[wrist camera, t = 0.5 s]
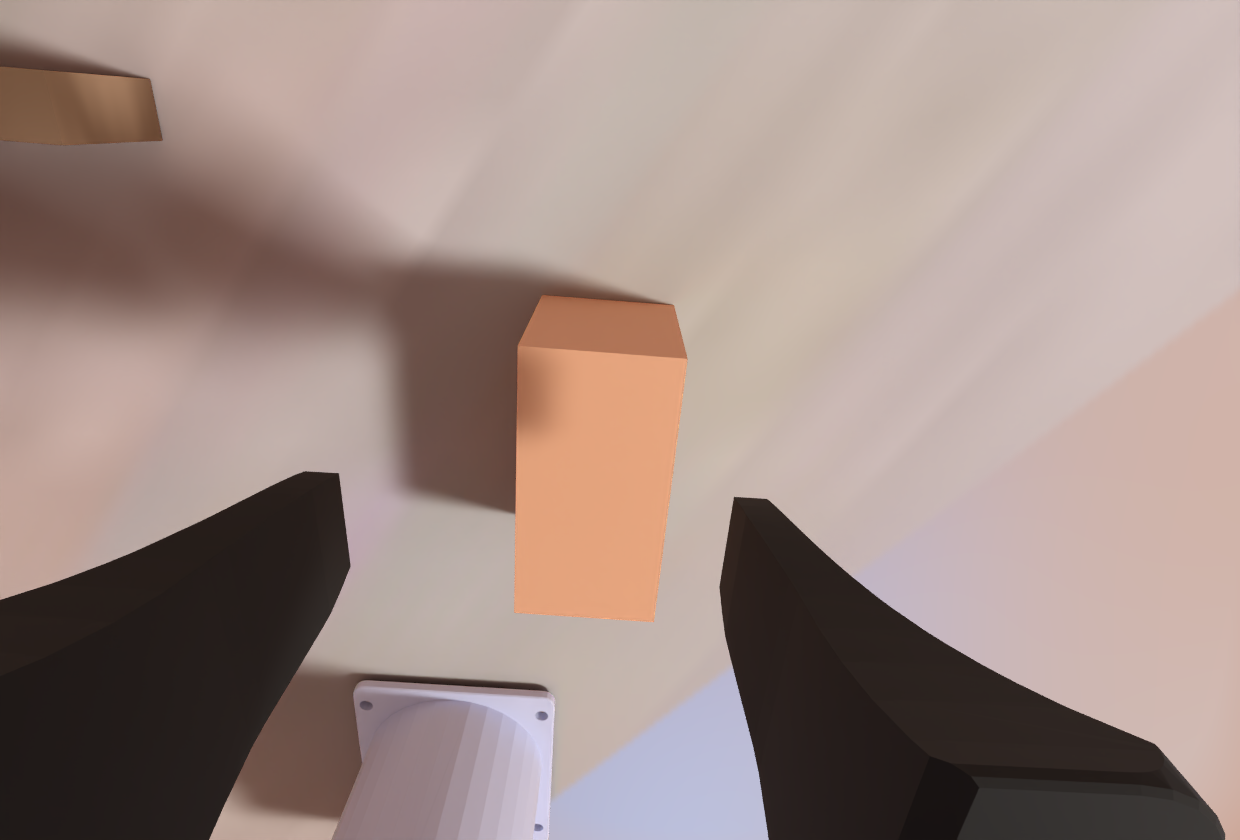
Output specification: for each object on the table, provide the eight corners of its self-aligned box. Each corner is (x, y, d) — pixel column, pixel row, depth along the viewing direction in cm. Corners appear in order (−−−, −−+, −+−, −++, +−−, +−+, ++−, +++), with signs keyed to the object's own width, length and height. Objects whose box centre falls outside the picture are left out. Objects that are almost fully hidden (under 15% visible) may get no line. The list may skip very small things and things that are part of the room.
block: (648, 523, 23) (653, 622, 19) (536, 515, 23) (514, 612, 19) (673, 304, 20) (687, 358, 15) (542, 293, 20) (517, 345, 15)
